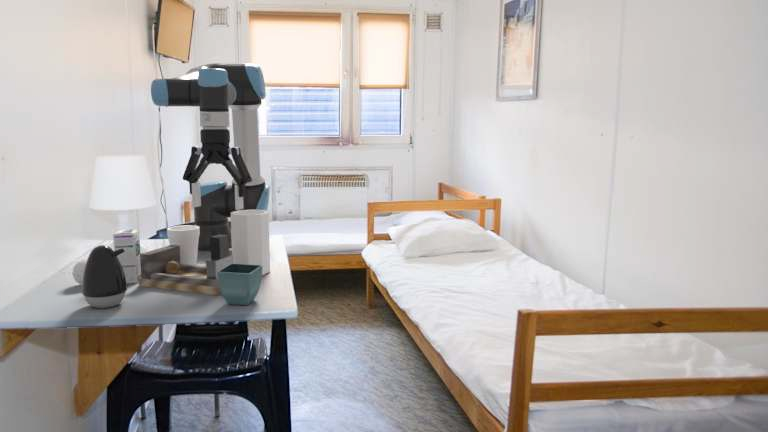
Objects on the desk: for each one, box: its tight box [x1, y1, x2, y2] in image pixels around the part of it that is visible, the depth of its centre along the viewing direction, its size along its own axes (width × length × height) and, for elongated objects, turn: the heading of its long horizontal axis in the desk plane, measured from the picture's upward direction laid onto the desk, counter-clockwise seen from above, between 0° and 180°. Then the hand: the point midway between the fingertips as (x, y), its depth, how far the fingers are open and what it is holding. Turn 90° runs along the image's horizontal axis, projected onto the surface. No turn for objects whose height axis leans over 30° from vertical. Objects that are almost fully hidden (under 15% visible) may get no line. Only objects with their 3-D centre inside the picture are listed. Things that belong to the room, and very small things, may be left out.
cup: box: [230, 209, 271, 277], centre depth 184 cm, size 11×11×18 cm
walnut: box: [165, 261, 180, 275], centre depth 174 cm, size 4×4×4 cm
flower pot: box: [217, 264, 262, 306], centre depth 155 cm, size 9×9×9 cm
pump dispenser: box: [81, 244, 128, 309], centre depth 151 cm, size 10×10×15 cm
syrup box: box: [112, 229, 142, 285], centre depth 174 cm, size 6×6×14 cm
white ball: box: [61, 258, 88, 286], centre depth 170 cm, size 10×7×7 cm
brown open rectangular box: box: [138, 244, 222, 296], centre depth 171 cm, size 26×14×9 cm, turn 70°
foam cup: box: [166, 224, 200, 265], centre depth 188 cm, size 10×9×13 cm
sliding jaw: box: [205, 234, 234, 279], centre depth 168 cm, size 3×8×12 cm, turn 160°
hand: (217, 208), depth 165 cm, fingers open, 13 cm apart
